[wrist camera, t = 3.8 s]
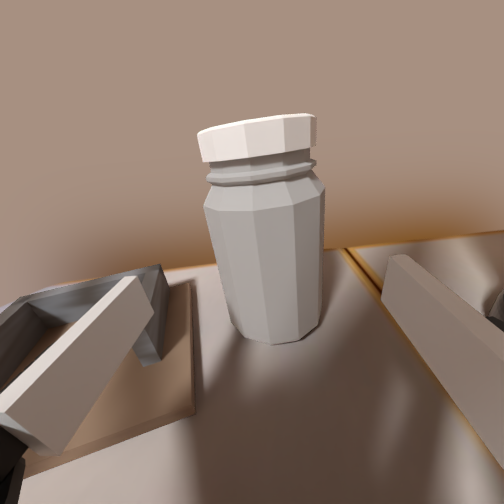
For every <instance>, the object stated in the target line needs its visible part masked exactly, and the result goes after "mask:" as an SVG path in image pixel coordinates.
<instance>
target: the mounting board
mask: <svg viewBox="0 0 504 504" xmlns="http://www.w3.org/2000/svg"><path fill="white" fill-rule="evenodd" d="M125 276H138V278H139V280H140V282H141V285H142V287H143V289H144V291H145V293H146V296H147V298H148V300H149V302H150V304H151V306H152V309H153V311H154V314H153V316H152V317H151V319H150V320H149V322H148V323H147V325H146V326H145V328H144V329H143V331H142V332H141V334H140V335H139V337H138V338H137V340H136V341H135V343H134V344H133V346H132V347H131V349H130V350H129V352H128V354H127V355H126V357H125V358H124V360H123V361H122V363H121V364H120V366H119V367H118V369H117V370H116V372H115V373H114V375H113V376H112V378H111V379H110V381H109V382H108V384H107V385H106V387H105V388H104V390H103V391H102V393H101V394H100V396H99V398H98V399H97V401H96V402H95V404H94V405H93V407H92V408H91V410H90V411H89V413H88V414H87V416H86V417H85V419H84V420H83V422H82V423H81V425H80V426H79V428H78V429H77V431H76V432H75V434H74V435H73V437H72V438H71V440H70V442H69V443H68V445H67V446H66V448H65V449H64V451H63V452H62V454H61V455H60V456H40V455H38V454H37V453H35V452H34V451H33V450H31V449H30V448H28V449H27V450H26V452H25V453H24V454H23V456H22V457H23V458H24V459H25V463H26V466H25V471H24V476H23V479H25V478H28V477H30V476H33V475H36V474H38V473H41V472H43V471H46V470H49V469H51V468H54V467H57V466H59V465H62V464H64V463H67V462H70V461H72V460H75V459H78V458H80V457H83V456H86V455H88V454H91V453H93V452H96V451H99V450H101V449H104V448H107V447H109V446H112V445H114V444H117V443H120V442H122V441H125V440H128V439H130V438H133V437H135V436H138V435H141V434H143V433H146V432H149V431H151V430H154V429H156V428H159V427H162V426H164V425H167V424H170V423H172V422H175V421H177V420H180V419H183V418H185V417H188V416H191V415H193V414H196V411H195V382H194V352H193V323H192V293H191V287H190V284H189V283H185V284H181V285H178V286H174V287H170V288H169V285H168V283H167V280H166V278H165V275H164V272H163V270H162V267H161V265H160V264H157V265H153V266H148V267H144V268H140V269H136V270H132V271H128V272H123V273H120V274H115V275H111V276H107V277H102V278H98V279H94V280H90V281H86V282H81V283H77V284H73V285H69V286H65V287H61V288H56V289H52V290H48V291H44V292H40V293H35V294H31V295H27V296H23V297H19V298H18V299H17V300H16V301H15V302H14V303H12V304H11V305H10V306H9V307H8V308H7V309H5V310H4V311H3V312H2V313H1V314H0V391H1V390H2V389H3V388H4V387H5V386H6V385H7V384H8V383H9V382H10V381H11V380H12V379H14V378H15V377H16V376H17V375H18V374H19V373H20V372H23V371H24V368H25V367H26V366H27V365H29V364H30V363H31V362H32V361H34V360H35V358H36V357H37V356H38V355H39V354H40V353H41V352H42V351H44V350H45V349H46V348H47V347H48V346H49V345H51V344H52V343H54V342H55V341H57V340H58V339H59V338H60V337H61V336H62V335H63V334H64V333H65V332H67V331H68V330H69V329H70V328H71V327H72V326H73V325H74V324H75V323H76V322H77V321H78V320H79V319H80V318H81V317H82V316H83V315H85V314H86V313H87V312H88V311H89V310H90V309H91V308H92V307H93V306H94V305H95V304H96V303H97V302H98V301H99V300H100V299H101V298H103V297H104V296H105V295H106V294H107V293H108V292H109V291H110V290H111V289H112V288H113V287H114V286H115V285H116V284H117V283H118V282H119V281H120V280H122V279H123V278H124V277H125Z"/></svg>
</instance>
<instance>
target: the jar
mask: <svg viewBox="0 0 504 504" xmlns="http://www.w3.org/2000/svg"><path fill="white" fill-rule="evenodd" d="M316 120H317V118H316V117H315V116H313V115H311V114H307V113H303V114H290V115H278V116H271V117H264V118H258V119H250V120H243V121H239V122H234V123H229V124H224V125H219V126H215V127H211V128H208V129H205V130H202V131H200V132H199V133H198V134H197V138H198V142H199V147H200V151H201V156H202V159H203V162H209V164H210V168H211V173H209V174H208V175H207V177H206V180H207V182H209V183H211V184H212V187H211V189H210V191H209V194H208V196H207V198H206V200H205V203H204V205H203V207H204V211H205V215H206V219H207V224H208V228H209V232H210V236H211V241H212V245H213V249H214V253H215V257H216V261H217V265H218V270H219V274H220V278H221V282H222V286H223V290H224V294H225V299H226V303H227V307H228V311H229V315H230V319H231V323H232V324H233V325H234V326H235V327H236V328H237V329H238V330H239V331H240V333H241V334H242V335H243V336H244V337H245V338H249V339H252V340H255V341H259V342H262V343H266V344H269V345H277V344H282V343H288V342H294V341H297V340H299V339H301V338H302V337H303V336H304V335H306V334H307V333H308V332H309V331H311V330H312V329H313V328H314V327H316V326H317V325H318V322H319V317H320V313H321V308H322V282H323V247H324V244H323V243H324V212H325V186H324V185H323V184H322V182H321V181H320V180H319V178H318V177H317V176H316V175H315V174H314V172H313V171H312V170H311V169H312V168H313V167H314V166H315V165H316V160H313V159H310V147H313V146H316Z"/></svg>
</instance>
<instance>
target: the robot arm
mask: <svg viewBox="0 0 504 504" xmlns="http://www.w3.org/2000/svg"><path fill="white" fill-rule="evenodd" d="M381 301H382V303H383V304H384V305H385V307H386V308H387V310H388V311H389V312H390V314H391V315H392V316H393V318H394V319H395V321H396V322H397V323H398V325H399V326H400V328H401V329H402V330H403V332H404V333H405V334H406V336H407V337H408V339H409V340H410V341H411V343H412V344H413V345H414V347H415V348H416V350H417V351H418V352H419V354H420V355H421V357H422V358H423V359H424V361H425V362H426V363H427V365H428V366H429V368H430V369H431V370H432V372H433V373H434V375H435V376H436V377H437V379H438V380H439V381H440V383H441V384H442V386H443V387H444V388H445V390H446V391H447V393H448V394H449V395H450V397H451V398H452V399H453V401H454V402H455V404H456V405H457V406H458V408H459V409H460V411H461V412H462V413H463V415H464V416H465V417H466V419H467V420H468V422H469V423H470V424H471V426H472V427H473V429H474V430H475V431H476V433H477V434H478V435H479V437H480V438H481V440H482V441H483V442H484V444H485V445H486V447H487V448H488V449H489V451H490V452H491V453H492V455H493V456H494V458H495V459H496V460H497V462H498V463H499V465H500V466H501V467H502V469H503V470H504V289H503V290H502V291H501V293H500V294H499V295H498V297H497V299H496V301H495V303H494V305H493V307H492V309H491V310H490V313H489V317H484V316H483V315H481V314H480V313H479V312H478V311H476V310H475V309H474V308H473V307H471V306H470V305H469V304H468V303H466V302H465V301H464V300H463V299H461V298H460V297H459V296H458V295H456V294H455V293H454V292H453V291H451V290H450V289H449V288H448V287H446V286H445V285H444V284H443V283H442V282H440V281H439V280H438V279H437V278H435V277H434V276H433V275H432V274H430V273H429V272H428V271H427V270H425V269H424V268H423V267H422V266H420V265H419V264H418V263H417V262H415V261H414V260H413V259H412V258H410V257H409V256H408V255H407V254H403V255H391V256H389V259H388V265H387V270H386V275H385V280H384V285H383V290H382V295H381ZM153 314H154V311H153V309H152V306H151V304H150V302H149V300H148V298H147V296H146V293H145V291H144V289H143V287H142V285H141V282H140V280H139V278H138V276H125V277H124V278H123V279H122V280H120V281H119V282H118V283H117V284H116V285H115V286H114V287H113V288H112V289H111V290H110V291H109V292H108V293H107V294H106V295H105V296H104V297H103V298H101V299H100V300H99V301H98V302H97V303H96V304H95V305H94V306H93V307H92V308H91V309H90V310H89V311H88V312H87V313H86V314H85V315H83V316H82V317H81V318H80V319H79V320H78V321H77V322H76V323H75V324H74V325H73V326H72V327H71V328H70V329H69V330H68V331H67V332H65V333H64V334H63V335H62V336H61V337H60V338H59V339H58V340H57V341H55V342H54V343H52V344H51V345H49V346H48V347H47V348H46V349H45V350H44V351H42V352H41V353H40V354H39V355H38V356H37V357H36V358H35V360H34V361H32V362H31V363H30V364H29V365H27V366H26V367H25V368H24V371H23V372H20V373H19V374H18V375H17V376H16V377H15V378H14V379H12V380H11V381H10V382H9V383H8V384H7V385H6V386H5V387H4V388H3V389H2V390H1V391H0V504H18V500H19V495H20V490H21V485H22V481H23V476H24V471H25V466H26V463H25V459H24V458H23V457H22V456H23V454H24V453H25V452H26V450H27V449H28V448H30V449H31V450H33V451H34V452H35V453H37V454H38V455H40V456H60V455H61V454H62V452H63V451H64V449H65V448H66V446H67V445H68V443H69V442H70V440H71V438H72V437H73V435H74V434H75V432H76V431H77V429H78V428H79V426H80V425H81V423H82V422H83V420H84V419H85V417H86V416H87V414H88V413H89V411H90V410H91V408H92V407H93V405H94V404H95V402H96V401H97V399H98V398H99V396H100V394H101V393H102V391H103V390H104V388H105V387H106V385H107V384H108V382H109V381H110V379H111V378H112V376H113V375H114V373H115V372H116V370H117V369H118V367H119V366H120V364H121V363H122V361H123V360H124V358H125V357H126V355H127V354H128V352H129V350H130V349H131V347H132V346H133V344H134V343H135V341H136V340H137V338H138V337H139V335H140V334H141V332H142V331H143V329H144V328H145V326H146V325H147V323H148V322H149V320H150V319H151V317H152V316H153Z"/></svg>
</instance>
